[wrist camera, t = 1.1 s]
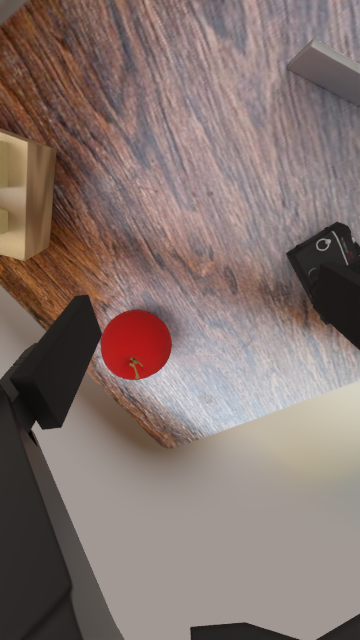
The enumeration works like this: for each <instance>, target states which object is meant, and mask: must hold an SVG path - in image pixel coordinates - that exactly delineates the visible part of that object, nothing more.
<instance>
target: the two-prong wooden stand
mask: <svg viewBox="0 0 360 640" xmlns="http://www.w3.org/2000/svg"><path fill="white" fill-rule="evenodd" d="M0 139H1V140H4V141H7V142H8V187H6V188H0V209H3V210H6V211H8V232H7V233H4V234H1V235H0V254H2V255H5V256H9V257H12V258H15V259H19V260H22V261H26V260H27V259H29V258H31V257H33V256H34V255H36V254H38V253H40V252H41V251H43V250H45V249H47V248H48V247H49V245H50V232H51V219H52V205H53V192H54V179H55V165H56V152H57V150H56V149H54V148H52V147H49V146H46V145H44V144H41V143H38V142H36V141H33V140H31V139H28V138H25V137H23V136H20V135H17V134H15V133H12V132H9V131H7V130H4V129H1V128H0Z"/></svg>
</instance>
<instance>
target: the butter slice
mask: <svg viewBox="0 0 360 640" xmlns="http://www.w3.org/2000/svg"><path fill="white" fill-rule="evenodd" d="M7 232H8V211H6V210H3V209H0V235H1V234H4V233H7Z"/></svg>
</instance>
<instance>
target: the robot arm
mask: <svg viewBox="0 0 360 640" xmlns="http://www.w3.org/2000/svg"><path fill="white" fill-rule="evenodd" d="M313 308H314V309H315V310H316V311H317V312H318V313H319V314H321V315H322V316H323V317H324V318H325V319H326V320H327V321H328V322H329V323H330V324H332V325H333V326H334V327H335V328H336V329H337V330H338V331H339V332H340V333H341V334H343V335H344V336H345V337H346V338H347V339H348V340H349V341H350V342H351V343H352V344H354V345H355V346H356V347H357V348H358V349H359V350H360V275H359V274H357V273H355V272H353V271H351V270H349V269H347V268H345V267H343V266H341V265H339V264H338V263H336V262H329V263H321V264H320V268H319V274H318V280H317V286H316V292H315V298H314V304H313ZM101 336H102V333H101V330H100V327H99V324H98V322H97V319H96V316H95V313H94V310H93V307H92V304H91V301H90V299H89V296H88V295H81V296H75V297H74V298H73V300H72V301H71V302H70V303H69V305H68V306H67V307H66V308H65V309H64V311H63V312H62V313H61V314H60V316H59V317H58V318H57V319H56V321H55V322H54V323H53V324H52V326H51V327H50V328H49V329H48V331H47V332H46V333H45V334H44V336H43V337H42V338H41V339H40V341H39V342H38V343H34V344H33V345H32V346H30V347H29V348H28V349H26V350H25V351H24V352H23V353H22V354H21V356H20V357H19V359H18V360H17V361H16V362H15V363H14V364H13V366H12V367H11V368H10V369H9V370H8V371H7V372H6V373H5V375H4V376H3V377H2V378H1V379H0V640H124V638H123V636H122V634H121V633H120V631H119V629H118V628H117V626H116V624H115V622H114V620H113V618H112V615H111V614H110V611H109V609H108V606H107V604H106V601H105V599H104V597H103V594H102V592H101V590H100V587H99V585H98V583H97V580H96V578H95V575H94V573H93V571H92V568H91V566H90V564H89V561H88V559H87V557H86V554H85V552H84V549H83V547H82V545H81V542H80V540H79V538H78V535H77V533H76V531H75V528H74V526H73V524H72V521H71V519H70V516H69V514H68V512H67V509H66V507H65V505H64V502H63V500H62V498H61V495H60V493H59V490H58V488H57V486H56V484H55V481H54V479H53V476H52V474H51V471H50V469H49V467H48V464H47V462H46V460H45V457H44V455H43V453H42V450H41V448H40V445H39V443H38V441H37V438H36V436H35V434H34V432H33V431H32V430H31V428H32V426H33V425H34V423H35V421H37V422H38V424H39V425H40V427H41V428H42V429H52V428H61V427H62V425H63V422H64V420H65V418H66V416H67V413H68V411H69V409H70V406H71V404H72V402H73V399H74V397H75V395H76V393H77V390H78V388H79V386H80V384H81V381H82V378H83V376H84V374H85V372H86V370H87V368H88V365H89V363H90V361H91V358H92V356H93V354H94V352H95V349H96V347H97V345H98V342H99V340H100V338H101ZM190 630H191V640H299V639H296V638H293V637H289V636H287V635H283V634H280V633H277V632H274V631H271V630H267V629H264V628H261V627H258V626H255V625H252V624H248V623H232V624H221V625H209V626H197V627H191V628H190ZM317 640H360V614H359V615H357V616H355V617H354V618H352V619H350V620H349V621H347V622H345V623H343V624H342V625H340V626H338V627H337V628H335V629H333V630H332V631H330V632H328V633H327V634H325V635H323V636H322V637H320V638H318V639H317Z"/></svg>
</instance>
